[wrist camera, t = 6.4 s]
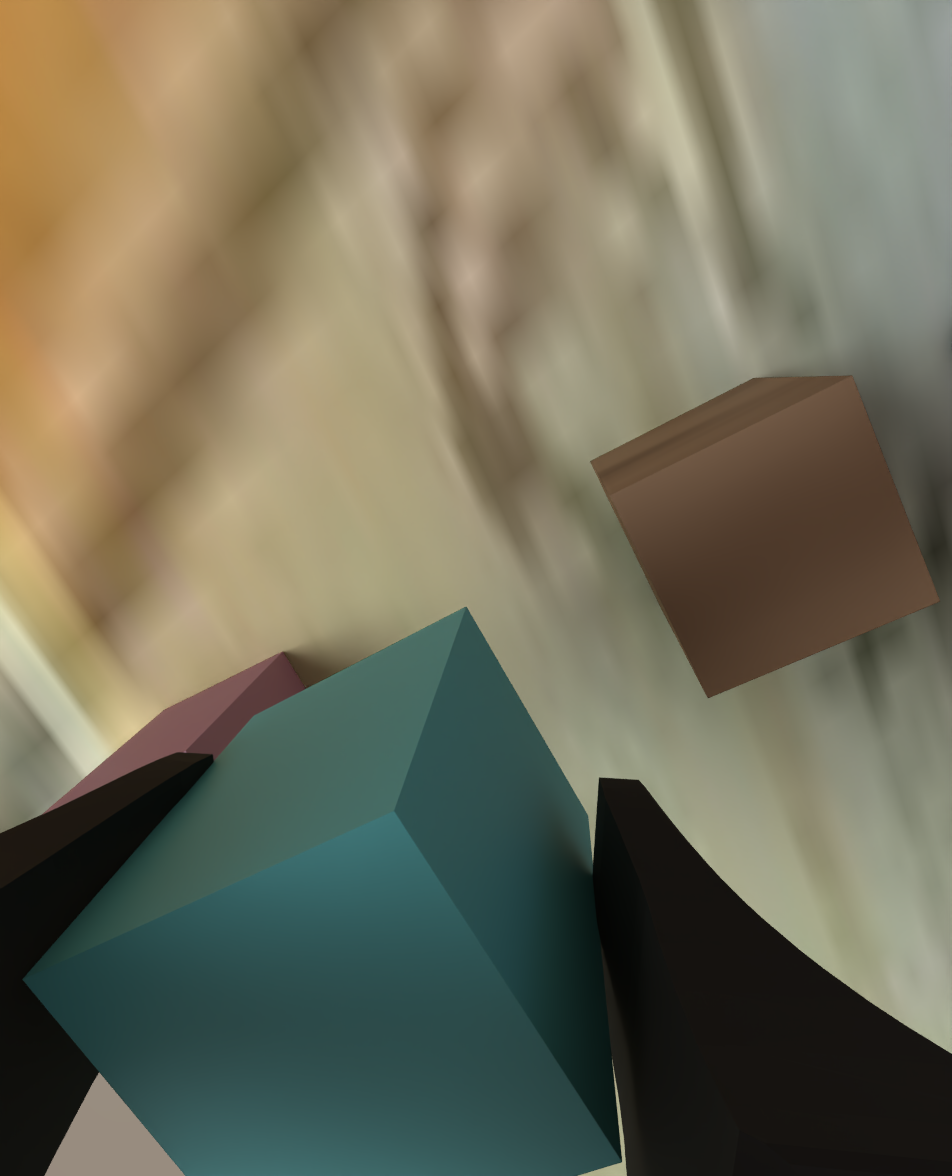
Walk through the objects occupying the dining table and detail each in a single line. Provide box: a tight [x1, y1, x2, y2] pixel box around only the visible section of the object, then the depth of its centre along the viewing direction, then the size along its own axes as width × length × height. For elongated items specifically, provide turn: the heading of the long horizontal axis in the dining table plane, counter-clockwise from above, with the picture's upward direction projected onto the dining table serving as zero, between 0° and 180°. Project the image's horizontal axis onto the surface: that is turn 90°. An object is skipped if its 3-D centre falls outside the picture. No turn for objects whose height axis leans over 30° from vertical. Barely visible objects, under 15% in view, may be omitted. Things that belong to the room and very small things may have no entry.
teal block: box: [22, 607, 622, 1176], centre depth 10 cm, size 4×4×6 cm
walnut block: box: [590, 376, 940, 698], centre depth 16 cm, size 4×4×6 cm
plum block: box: [43, 652, 306, 814], centre depth 19 cm, size 4×4×6 cm
